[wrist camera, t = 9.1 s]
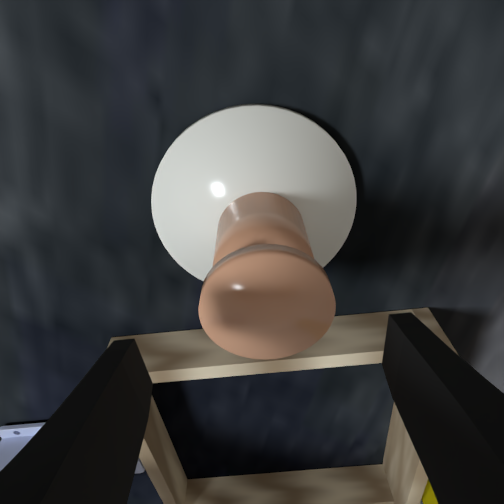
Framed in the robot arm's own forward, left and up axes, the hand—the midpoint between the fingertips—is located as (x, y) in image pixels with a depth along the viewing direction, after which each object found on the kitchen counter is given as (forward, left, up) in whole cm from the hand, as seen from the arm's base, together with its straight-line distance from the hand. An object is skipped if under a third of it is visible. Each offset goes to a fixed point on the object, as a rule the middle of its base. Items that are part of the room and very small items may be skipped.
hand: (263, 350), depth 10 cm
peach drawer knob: (0, -1, -9) cm, 9 cm away
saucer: (0, 0, -9) cm, 9 cm away
